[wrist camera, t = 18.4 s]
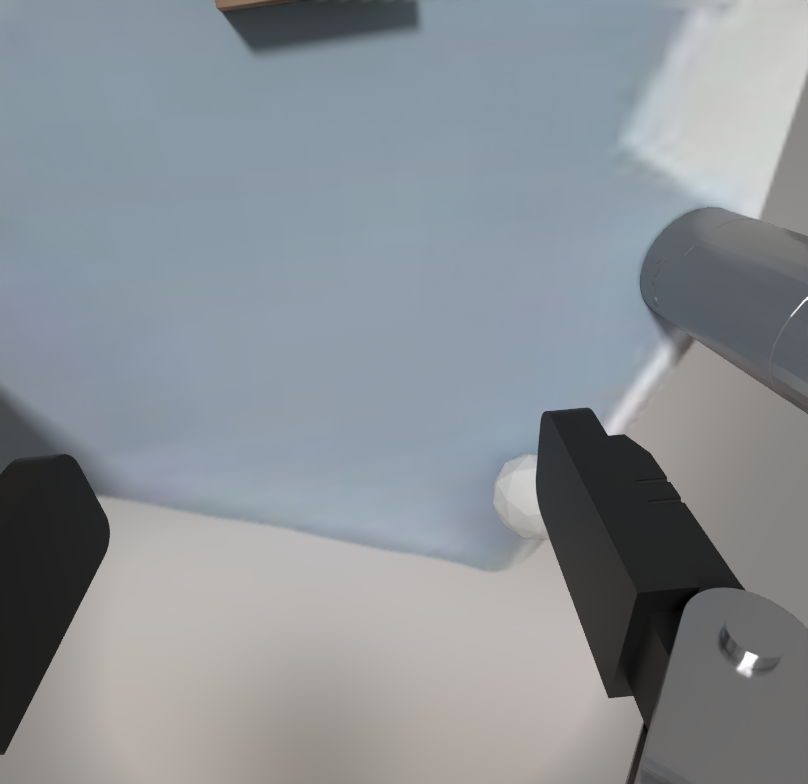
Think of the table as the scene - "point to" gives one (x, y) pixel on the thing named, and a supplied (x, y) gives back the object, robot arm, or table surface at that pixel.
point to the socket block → (246, 4)
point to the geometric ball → (519, 497)
